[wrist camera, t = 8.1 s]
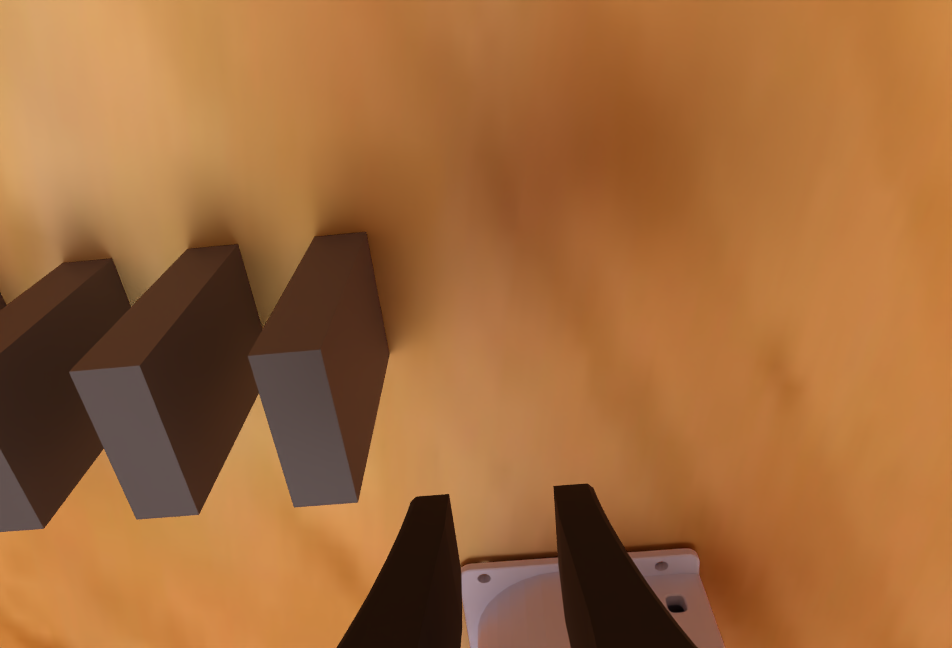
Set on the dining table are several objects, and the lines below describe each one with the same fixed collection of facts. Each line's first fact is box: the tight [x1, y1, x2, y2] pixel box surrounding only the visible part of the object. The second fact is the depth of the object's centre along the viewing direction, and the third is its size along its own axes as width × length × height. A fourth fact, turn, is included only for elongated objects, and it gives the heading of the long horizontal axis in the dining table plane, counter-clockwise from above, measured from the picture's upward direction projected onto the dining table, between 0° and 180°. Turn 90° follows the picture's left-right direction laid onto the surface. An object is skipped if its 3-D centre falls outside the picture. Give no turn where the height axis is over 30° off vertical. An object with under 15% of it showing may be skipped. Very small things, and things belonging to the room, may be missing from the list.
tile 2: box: [69, 244, 262, 519], centre depth 19 cm, size 2×4×7 cm, turn 6°
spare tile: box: [0, 259, 131, 532], centre depth 19 cm, size 2×4×7 cm, turn 6°
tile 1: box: [248, 232, 389, 507], centre depth 19 cm, size 2×4×7 cm, turn 6°
